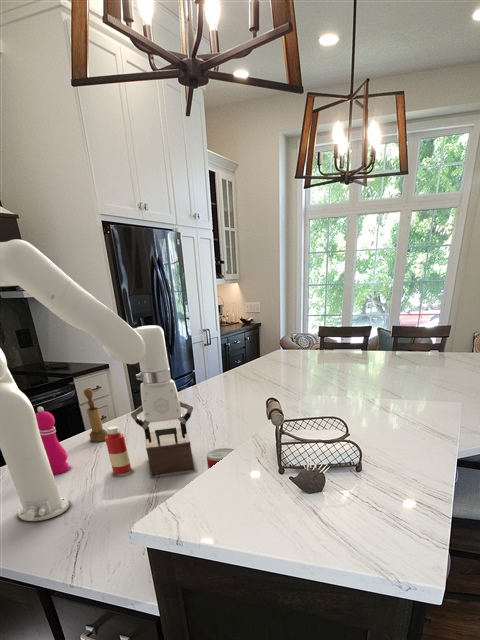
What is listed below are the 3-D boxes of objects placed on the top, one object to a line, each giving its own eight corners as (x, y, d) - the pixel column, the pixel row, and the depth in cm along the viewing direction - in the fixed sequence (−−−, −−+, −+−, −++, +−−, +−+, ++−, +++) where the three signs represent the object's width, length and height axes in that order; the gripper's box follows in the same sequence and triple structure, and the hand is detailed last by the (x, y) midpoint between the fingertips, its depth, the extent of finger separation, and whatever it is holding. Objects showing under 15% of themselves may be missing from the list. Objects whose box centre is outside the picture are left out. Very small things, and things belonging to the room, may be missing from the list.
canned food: (207, 490, 129) (202, 451, 124) (235, 483, 132) (231, 445, 126) (216, 500, 123) (211, 460, 118) (245, 493, 126) (241, 454, 120)
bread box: (194, 471, 141) (190, 445, 137) (152, 478, 139) (146, 451, 135) (189, 455, 154) (185, 430, 150) (150, 460, 152) (145, 435, 148)
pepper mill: (63, 474, 146) (43, 409, 136) (42, 474, 148) (21, 410, 137) (75, 466, 152) (57, 403, 142) (55, 465, 154) (36, 403, 143)
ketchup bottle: (132, 474, 143) (121, 429, 135) (113, 477, 142) (102, 431, 134) (132, 468, 147) (122, 423, 140) (114, 471, 146) (103, 426, 139)
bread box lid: (190, 444, 136) (188, 427, 134) (146, 450, 134) (143, 433, 132) (185, 430, 150) (183, 414, 147) (145, 435, 148) (142, 419, 145)
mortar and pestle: (112, 437, 176) (100, 387, 166) (99, 442, 171) (86, 391, 162) (100, 435, 179) (88, 386, 169) (87, 440, 174) (73, 390, 165)
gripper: (123, 383, 122) (136, 447, 132) (189, 375, 125) (198, 439, 134) (123, 377, 129) (136, 439, 138) (187, 370, 131) (195, 431, 141)
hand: (167, 439), depth 136 cm, fingers open, 9 cm apart
